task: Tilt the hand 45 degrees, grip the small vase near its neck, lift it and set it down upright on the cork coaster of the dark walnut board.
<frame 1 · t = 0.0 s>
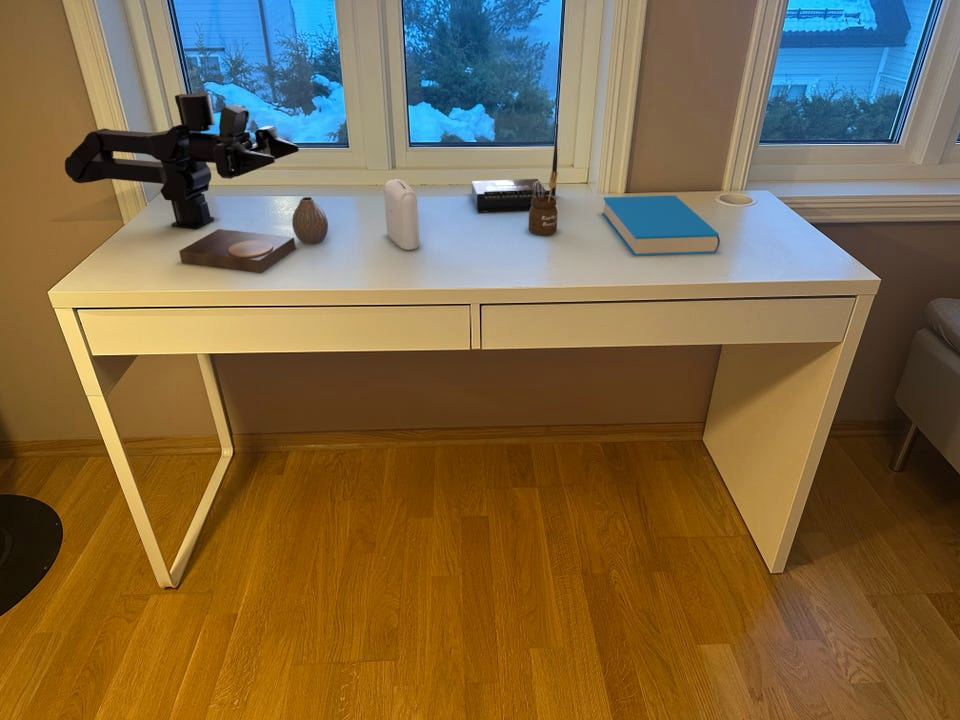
hand: (286, 154, 132), 17 cm above the table, tool horizontal, fingers open, 9 cm apart
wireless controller: (516, 202, 160), on the table
book: (655, 233, 142), on the table
vase: (312, 241, 138), on the table
riser board: (240, 256, 131), on the table
photo printer: (403, 243, 137), on the table
utensil holder: (542, 232, 143), on the table
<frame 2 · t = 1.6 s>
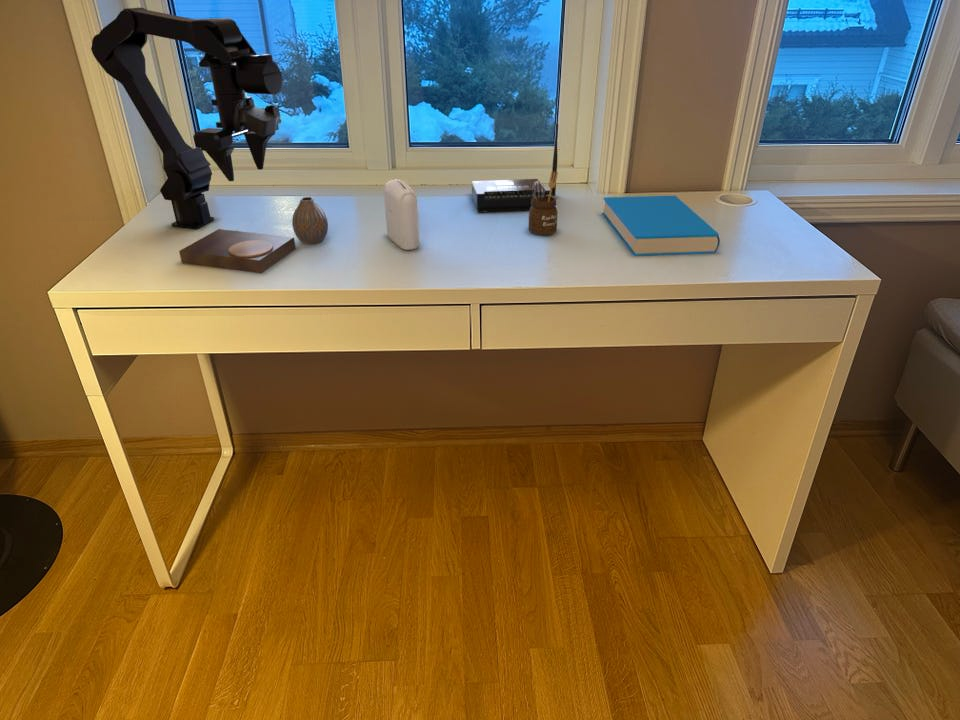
hand: (246, 175, 136), 12 cm above the table, tool pointing down, fingers open, 9 cm apart
nothing on the table moved.
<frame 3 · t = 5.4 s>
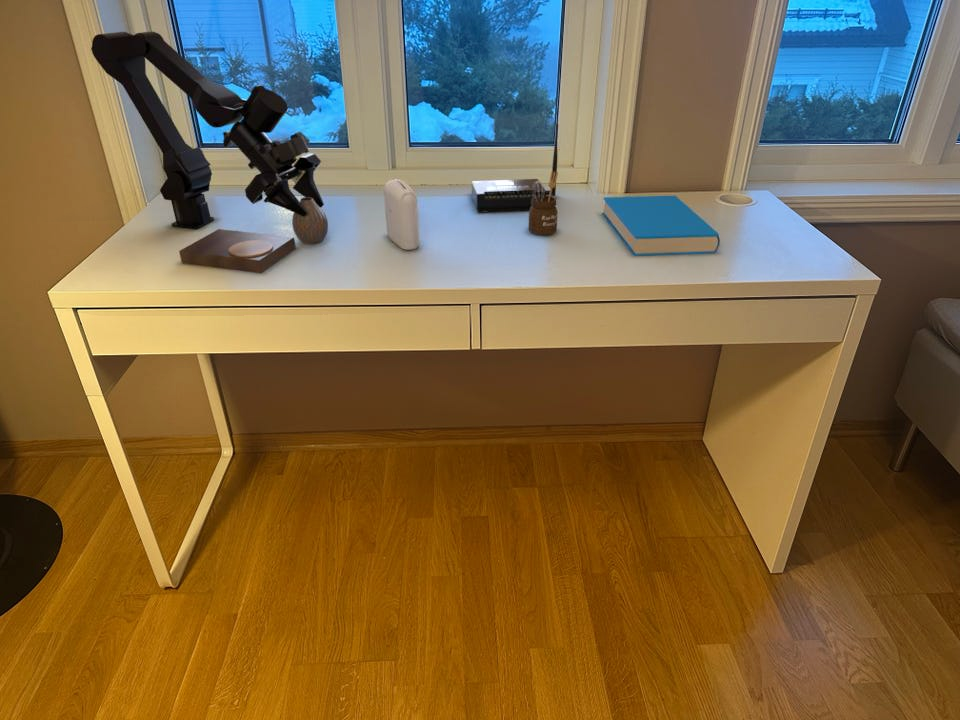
hand: (314, 210, 134), 7 cm above the table, tool tilted 45°, fingers closed on vase, 5 cm apart
vase: (312, 241, 138), on the table, touching gripper
everything else where it was.
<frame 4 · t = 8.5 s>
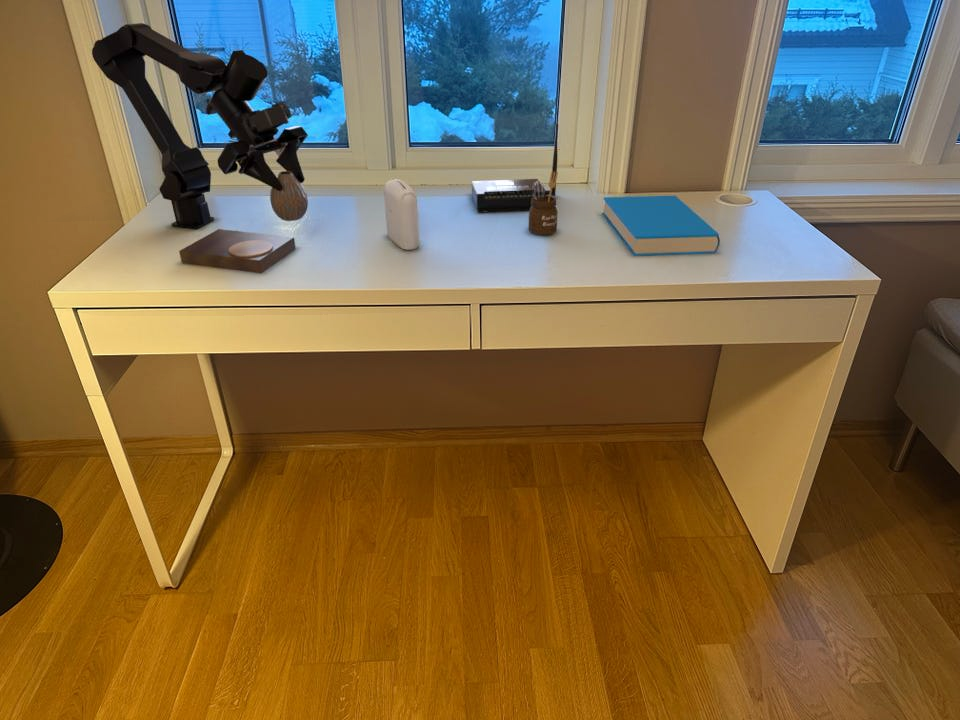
hand: (292, 185, 127), 13 cm above the table, tool tilted 45°, fingers closed on vase, 5 cm apart
vase: (291, 218, 131), point 6 cm above the table, touching gripper
everything else where it was.
when the fingers open (9 cm above the table, at t = 11.6 s): vase stays where it is, resting on riser board.
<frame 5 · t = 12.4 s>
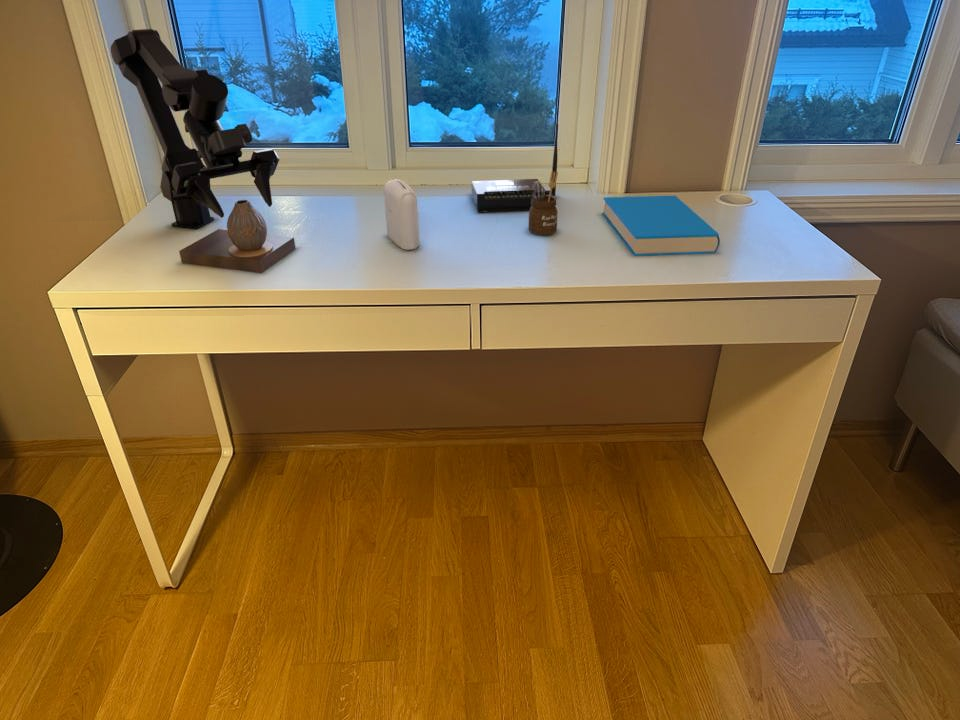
hand: (247, 210, 122), 10 cm above the table, tool tilted 45°, fingers open, 9 cm apart
vase: (250, 248, 127), point 3 cm above the table, touching riser board
everything else where it was.
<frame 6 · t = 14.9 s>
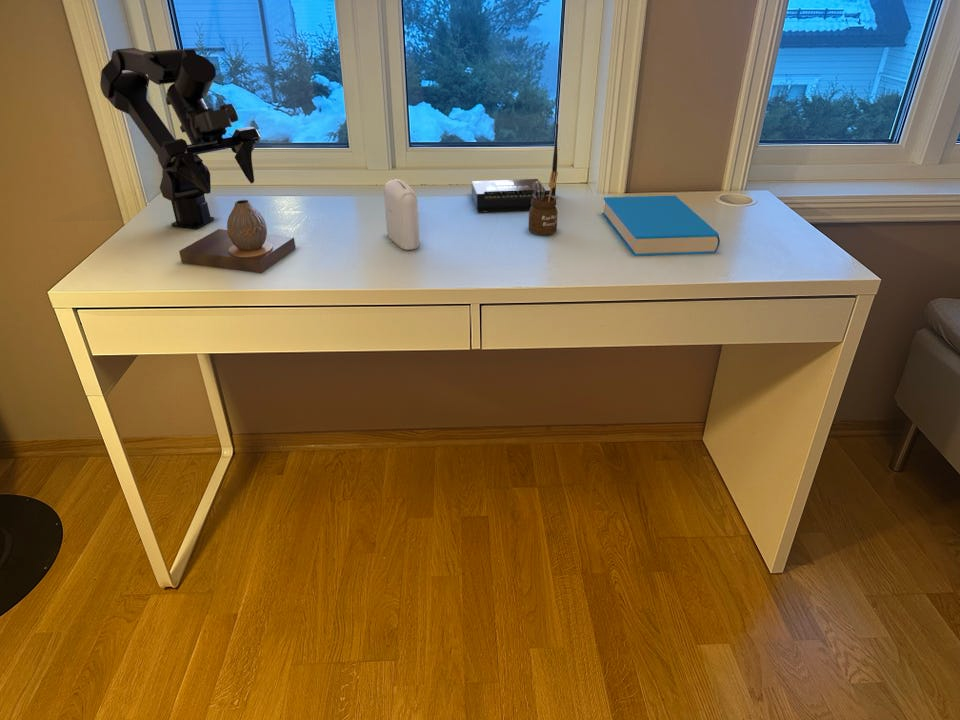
hand: (231, 187, 129), 12 cm above the table, tool tilted 40°, fingers open, 9 cm apart
nothing on the table moved.
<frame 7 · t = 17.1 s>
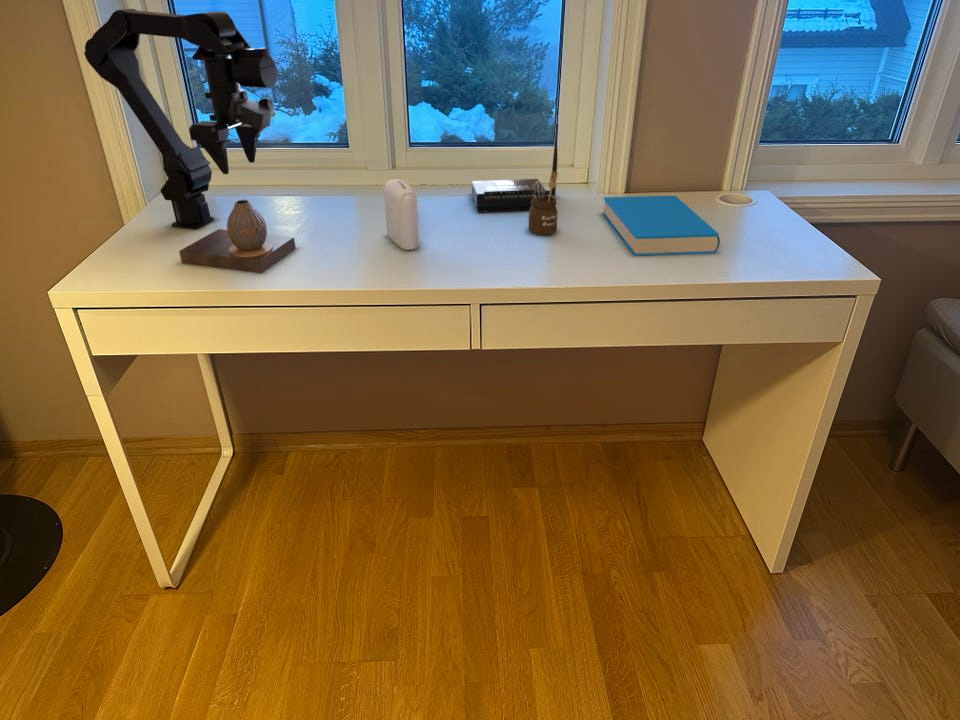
hand: (239, 168, 137), 13 cm above the table, tool pointing down, fingers open, 9 cm apart
nothing on the table moved.
at the end: vase inside the target area on the riser board (0.6 cm from its centre), point 2.6 cm above the riser board's base; vase tilted 0°; the gripper is holding nothing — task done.
